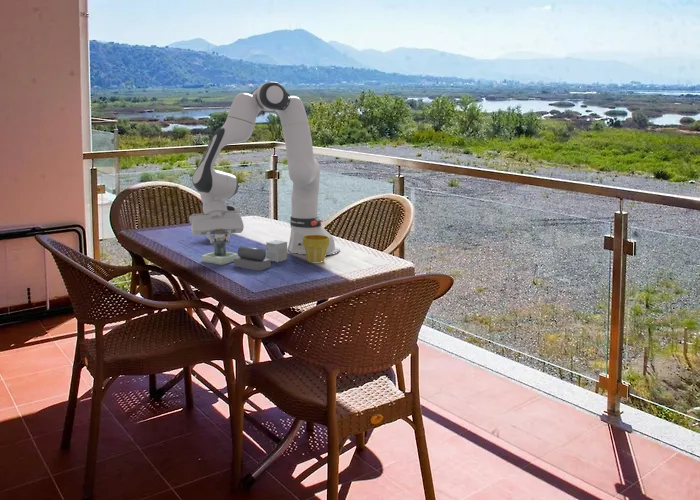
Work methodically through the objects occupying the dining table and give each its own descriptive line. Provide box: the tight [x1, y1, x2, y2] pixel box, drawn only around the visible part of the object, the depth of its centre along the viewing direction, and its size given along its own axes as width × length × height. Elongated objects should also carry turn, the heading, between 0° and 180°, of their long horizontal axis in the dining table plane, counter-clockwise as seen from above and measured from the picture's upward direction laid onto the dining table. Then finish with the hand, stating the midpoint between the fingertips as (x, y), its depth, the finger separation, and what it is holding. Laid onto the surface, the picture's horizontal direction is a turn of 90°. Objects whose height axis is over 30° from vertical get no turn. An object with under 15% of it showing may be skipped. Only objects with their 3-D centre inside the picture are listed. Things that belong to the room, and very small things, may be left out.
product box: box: [265, 239, 288, 263], centre depth 267 cm, size 6×6×7 cm
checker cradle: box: [233, 245, 272, 272], centre depth 256 cm, size 12×7×7 cm, turn 60°
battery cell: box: [213, 228, 227, 256], centre depth 263 cm, size 4×4×11 cm
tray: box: [201, 251, 239, 266], centre depth 264 cm, size 10×10×2 cm
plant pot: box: [303, 235, 329, 263], centre depth 266 cm, size 10×10×10 cm
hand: (220, 241), depth 262 cm, fingers closed on battery cell, 4 cm apart
